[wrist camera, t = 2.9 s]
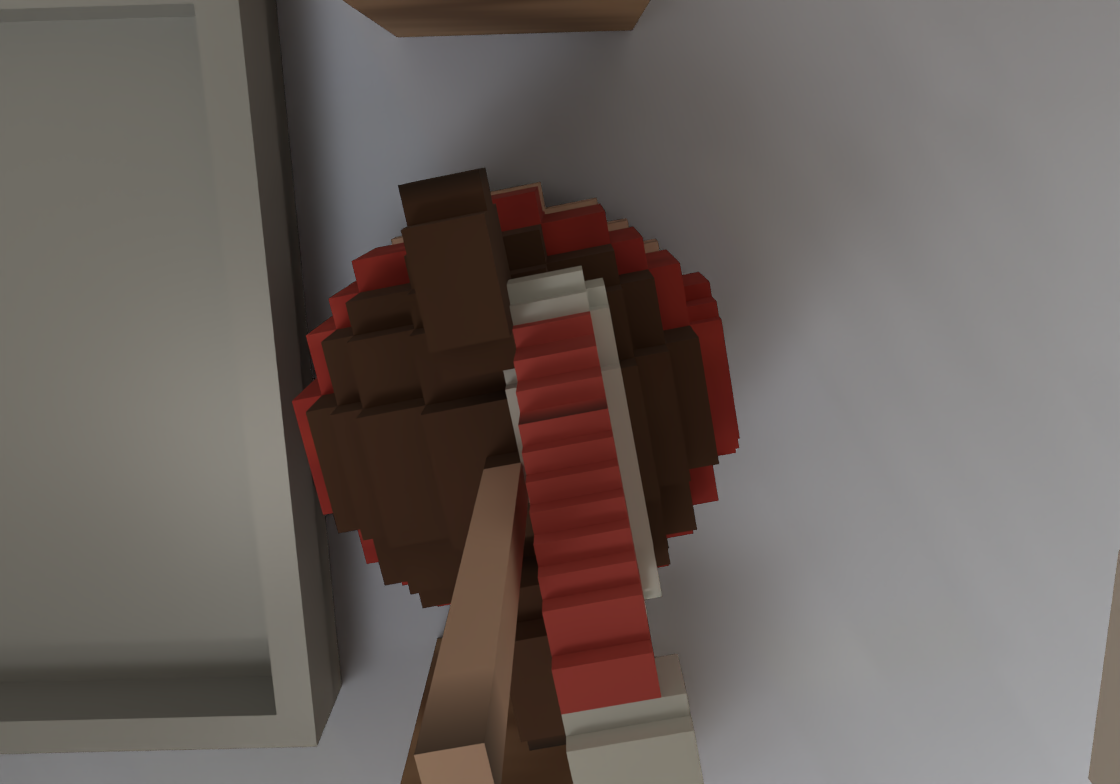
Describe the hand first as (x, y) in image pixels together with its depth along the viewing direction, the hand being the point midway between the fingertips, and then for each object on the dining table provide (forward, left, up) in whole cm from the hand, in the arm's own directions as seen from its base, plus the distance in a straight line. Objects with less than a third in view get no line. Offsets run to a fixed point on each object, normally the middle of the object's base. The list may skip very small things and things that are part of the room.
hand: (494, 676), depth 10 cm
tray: (-16, 0, -17) cm, 23 cm away
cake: (0, 0, -17) cm, 17 cm away
